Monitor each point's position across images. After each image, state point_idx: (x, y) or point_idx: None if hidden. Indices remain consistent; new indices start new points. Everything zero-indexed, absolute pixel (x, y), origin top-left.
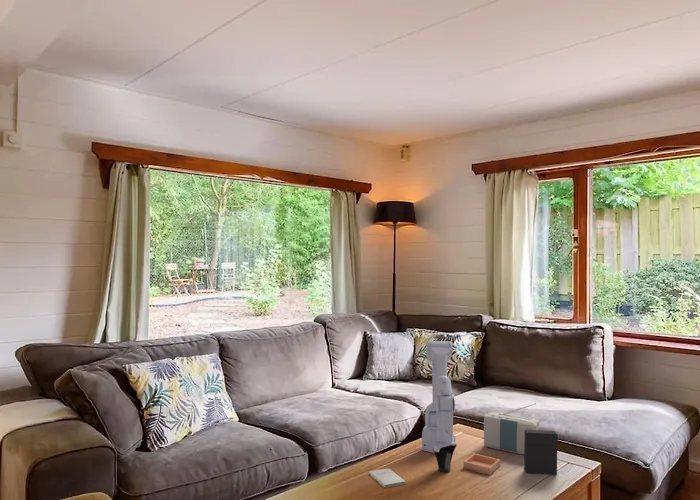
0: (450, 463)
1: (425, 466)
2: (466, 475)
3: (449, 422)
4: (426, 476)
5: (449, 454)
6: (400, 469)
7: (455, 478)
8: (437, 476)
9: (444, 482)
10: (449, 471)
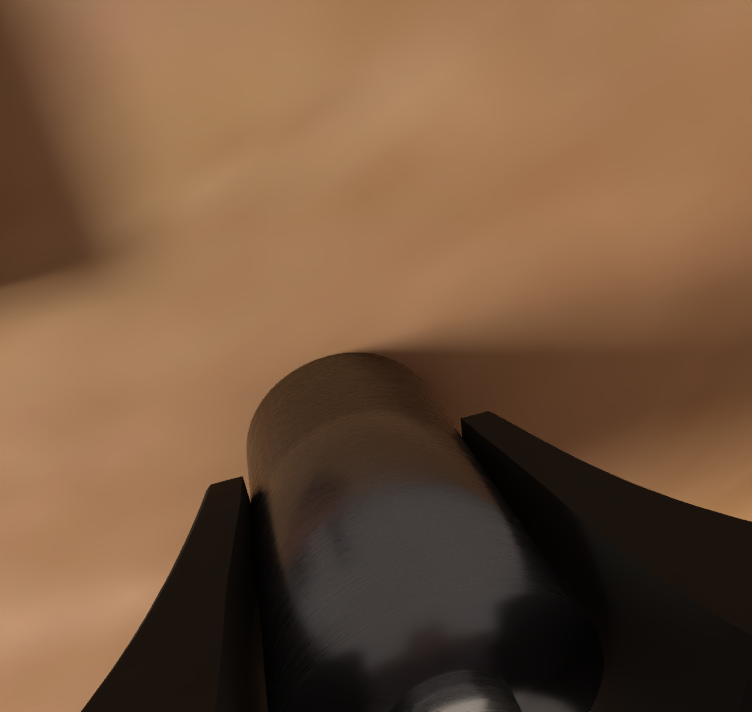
0: (332, 437)
1: None
2: (226, 24)
3: None
4: (676, 442)
5: (465, 587)
6: None
7: (509, 115)
8: (603, 361)
9: (744, 156)
10: (349, 357)
